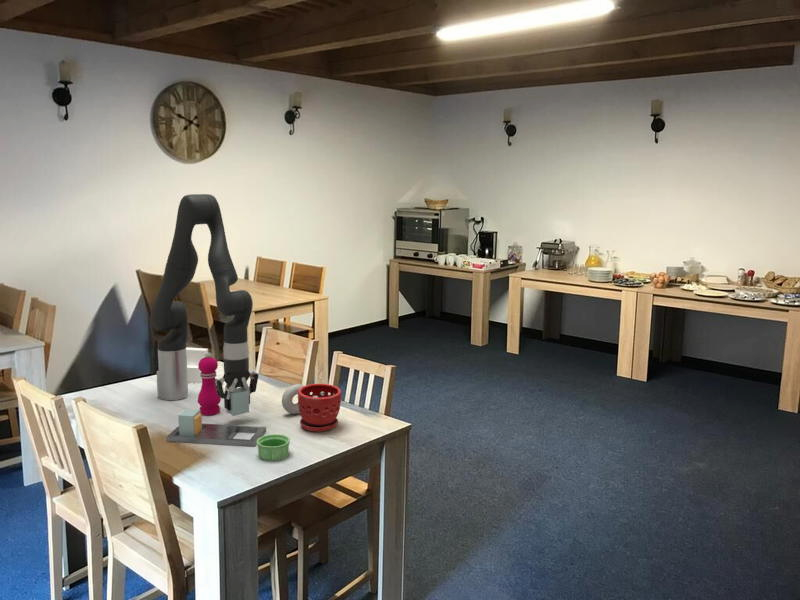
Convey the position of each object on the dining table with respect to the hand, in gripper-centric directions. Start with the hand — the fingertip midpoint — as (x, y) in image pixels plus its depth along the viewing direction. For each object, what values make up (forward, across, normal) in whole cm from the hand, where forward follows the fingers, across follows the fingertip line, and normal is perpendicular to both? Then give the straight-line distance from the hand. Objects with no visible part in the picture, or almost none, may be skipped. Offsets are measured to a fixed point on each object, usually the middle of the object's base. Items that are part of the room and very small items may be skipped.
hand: (237, 407), depth 204 cm
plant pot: (+5, -18, +19) cm, 27 cm away
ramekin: (+5, +3, +28) cm, 29 cm away
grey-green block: (+1, 0, 0) cm, 1 cm away
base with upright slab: (+5, -6, -48) cm, 49 cm away
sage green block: (+5, +16, +2) cm, 16 cm away
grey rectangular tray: (+5, +10, +7) cm, 13 cm away
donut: (+5, -18, +4) cm, 20 cm away
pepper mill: (+5, +4, -13) cm, 15 cm away
